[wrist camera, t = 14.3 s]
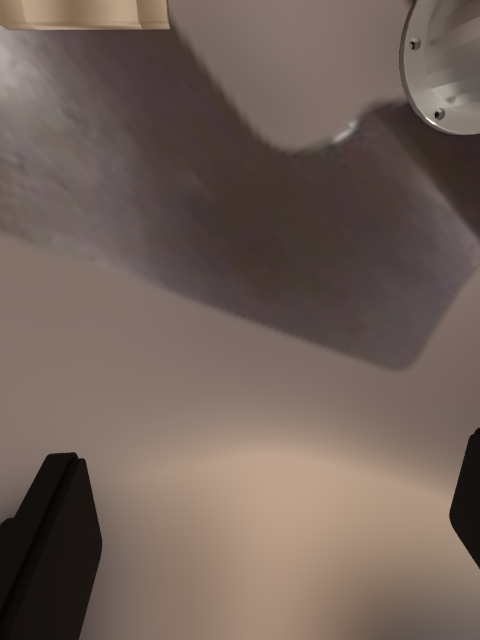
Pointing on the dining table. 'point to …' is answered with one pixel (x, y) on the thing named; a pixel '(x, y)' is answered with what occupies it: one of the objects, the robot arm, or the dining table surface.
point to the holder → (84, 14)
